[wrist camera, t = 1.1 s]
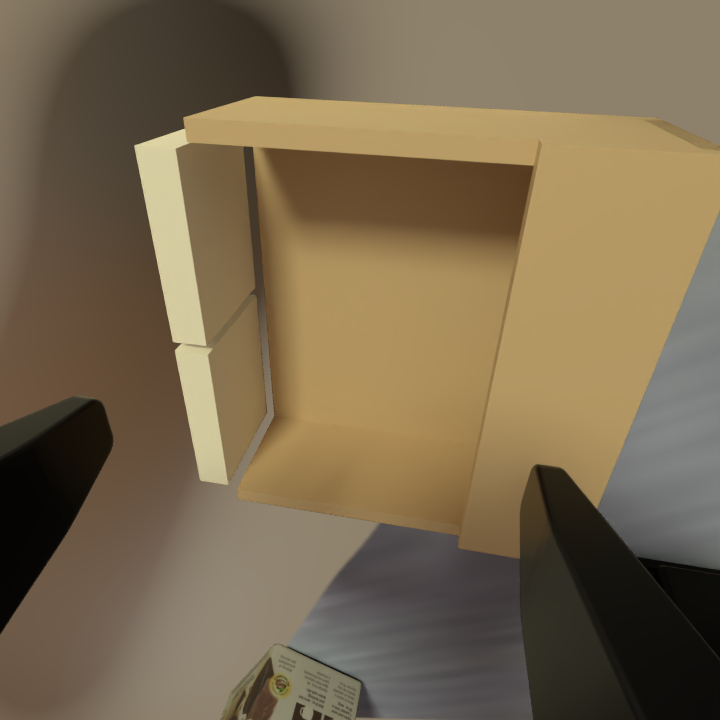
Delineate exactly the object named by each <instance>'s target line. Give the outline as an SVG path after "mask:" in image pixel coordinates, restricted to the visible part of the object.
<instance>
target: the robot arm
mask: <svg viewBox="0 0 720 720" xmlns="http://www.w3.org/2000/svg"><path fill="white" fill-rule="evenodd" d="M112 446H113V433H112V430H111V427H110V423H109V420H108V416H107V413H106V410H105V406H104V404H103V403H102V402H101V401H100V400H99V399H96V398H90V397H84V396H74V397H70V398H68V399H65V400H63V401H61V402H58V403H56V404H53V405H51V406H48V407H46V408H44V409H41V410H39V411H37V412H34V413H32V414H29V415H27V416H24V417H22V418H19V419H17V420H15V421H12V422H10V423H7V424H5V425H3V426H0V634H1V633H2V631H3V630H4V628H5V626H6V625H7V623H8V622H9V620H10V619H11V617H12V616H13V614H14V613H15V611H16V610H17V608H18V607H19V605H20V604H21V602H22V601H23V599H24V598H25V596H26V595H27V593H28V592H29V590H30V589H31V587H32V586H33V584H34V582H35V581H36V580H37V578H38V577H39V575H40V574H41V572H42V570H43V569H44V567H45V566H46V565H47V563H48V561H49V560H50V558H51V557H52V555H53V554H54V552H55V551H56V549H57V548H58V546H59V545H60V543H61V542H62V540H63V538H64V537H65V535H66V534H67V532H68V531H69V529H70V527H71V525H72V523H73V522H74V520H75V518H76V516H77V514H78V513H79V511H80V509H81V507H82V505H83V503H84V501H85V499H86V497H87V496H88V494H89V492H90V490H91V488H92V486H93V484H94V482H95V480H96V478H97V477H98V475H99V473H100V471H101V469H102V467H103V465H104V463H105V461H106V459H107V458H108V456H109V454H110V452H111V449H112ZM520 608H521V623H522V633H523V641H524V649H525V657H526V665H527V673H528V681H529V689H530V697H531V705H532V713H533V720H720V571H716V570H710V569H704V568H698V567H692V566H686V565H679V564H673V563H667V562H661V561H655V560H649V559H643V558H637V557H636V556H635V555H634V554H633V552H632V551H631V550H630V549H629V548H628V546H627V545H626V544H625V543H624V541H623V540H622V539H621V538H620V537H619V535H618V534H617V533H616V532H615V530H614V529H613V528H612V527H611V526H610V524H609V523H608V522H607V521H606V520H605V518H604V517H603V516H602V515H601V513H600V512H599V511H598V510H597V509H596V507H595V506H594V505H593V504H592V502H591V501H590V500H589V499H588V498H587V496H586V495H585V494H584V493H583V491H582V490H581V489H580V488H579V487H578V485H577V484H576V483H575V482H574V481H573V479H572V478H571V477H570V476H569V474H568V473H567V472H566V471H565V470H564V469H562V468H560V467H556V466H550V465H543V464H536V465H534V466H533V467H532V469H531V471H530V474H529V477H528V481H527V484H526V488H525V491H524V494H523V498H522V501H521V506H520Z"/></svg>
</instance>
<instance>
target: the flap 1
mask: <svg viewBox="0 0 720 720" xmlns="http://www.w3.org/2000/svg"><path fill="white" fill-rule="evenodd" d="M135 151H136V156H137V162H138V166H139V172H140V176H141V182H142V186H143V192H144V197H145V202H146V207H147V212H148V217H149V222H150V227H151V232H152V237H153V243H154V248H155V253H156V257H157V263H158V267H159V273H160V278H161V283H162V288H163V293H164V298H165V303H166V308H167V314H168V319H169V324H170V329H171V334H172V339H173V342H178V343H186V344H194V345H202V346H207V345H208V344H209V342H210V341H211V340H212V339H213V338H214V336H215V335H216V334H217V333H218V332H219V331H220V329H221V328H222V327H223V326H224V325H225V323H226V322H227V321H228V320H229V319H230V317H231V316H232V315H233V314H234V313H235V311H236V310H237V309H238V308H239V307H240V305H241V304H242V303H243V302H244V301H245V299H246V298H247V297H248V296H249V295H250V293H251V292H252V291H253V290H254V289H255V288H256V284H255V272H254V261H253V251H252V238H251V228H250V216H249V205H248V193H247V182H246V171H245V160H244V149H243V146H234V145H220V144H205V143H190V142H187V139H186V132H185V129H183V130H180V131H177V132H174V133H171V134H168V135H165V136H162V137H159V138H156V139H153V140H150V141H147V142H144V143H141V144H138V145H135Z"/></svg>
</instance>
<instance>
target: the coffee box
mask: <svg viewBox="0 0 720 720" xmlns="http://www.w3.org/2000/svg"><path fill="white" fill-rule="evenodd" d="M360 691H361V683H360V682H359V681H357V680H355V679H353V678H351V677H349V676H346V675H344V674H342V673H340V672H338V671H336V670H334V669H332V668H329V667H327V666H325V665H323V664H321V663H319V662H317V661H314V660H312V659H310V658H308V657H306V656H304V655H302V654H300V653H298V652H296V651H294V650H292V649H289V648H287V647H285V646H283V645H281V644H274V645H273V646H272V647H271V648H270V649H269V650H268V651H267V653H266V654H265V655H264V656H263V657H262V658H261V659H260V660H259V662H258V663H257V664H256V665H255V666H254V667H253V668H252V669H251V670H250V671H249V673H248V674H247V675H246V676H245V677H244V678H243V679H242V680H241V681H240V683H239V684H238V685H237V686H236V687H235V688H234V689H233V690H232V691H231V693H230V694H229V697H228V700H227V703H226V705H225V708H224V711H223V714H222V716H221V719H220V720H355V718H356V713H357V707H358V702H359V696H360Z"/></svg>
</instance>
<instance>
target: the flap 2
mask: <svg viewBox="0 0 720 720" xmlns="http://www.w3.org/2000/svg"><path fill="white" fill-rule="evenodd" d="M259 329H260V328H259V318H258V306H257V296H256V295H251V294H250V295H249V296H248V297H247V298H246V299H245V301H244V302H243V303H242V304H241V305H240V307H239V308H238V309H237V310H236V311H235V313H234V314H233V315H232V316H231V317H230V319H229V320H228V321H227V322H226V323H225V325H224V326H223V327H222V328H221V329H220V331H219V332H218V333H217V334H216V335H215V336H214V338H213V339H212V340H211V341H210V342H209V344H208V345H207V346H202V345H194V344H186V343H182V344H181V345H180V346H179V347H178V348H177V349H176V350H175V354H176V359H177V364H178V369H179V374H180V379H181V385H182V389H183V394H184V400H185V405H186V410H187V415H188V420H189V425H190V430H191V435H192V440H193V445H194V450H195V455H196V461H197V465H198V470H199V476H200V480H202V481H208V482H214V483H220V484H226V485H228V484H229V482H230V481H231V479H232V477H233V475H234V473H235V471H236V469H237V467H238V465H239V464H240V462H241V460H242V458H243V456H244V454H245V452H246V450H247V448H248V447H249V445H250V443H251V441H252V439H253V437H254V435H255V433H256V432H257V430H258V428H259V426H260V424H261V422H262V420H263V419H264V416H265V415H266V413H267V407H266V396H265V386H264V374H263V362H262V352H261V339H260V330H259Z"/></svg>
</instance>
